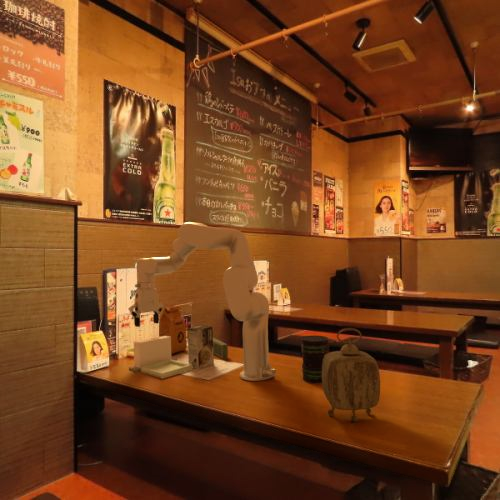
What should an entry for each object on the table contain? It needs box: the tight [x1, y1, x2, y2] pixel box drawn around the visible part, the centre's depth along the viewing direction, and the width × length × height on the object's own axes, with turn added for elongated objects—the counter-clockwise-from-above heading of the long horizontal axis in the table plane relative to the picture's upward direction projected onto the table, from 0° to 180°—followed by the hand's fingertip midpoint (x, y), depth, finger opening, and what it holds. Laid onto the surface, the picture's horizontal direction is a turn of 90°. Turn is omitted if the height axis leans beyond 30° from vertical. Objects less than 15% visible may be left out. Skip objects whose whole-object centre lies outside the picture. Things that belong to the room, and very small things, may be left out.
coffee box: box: [187, 324, 215, 370], centre depth 173 cm, size 9×6×16 cm
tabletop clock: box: [321, 327, 381, 423], centre depth 113 cm, size 14×9×25 cm, turn 92°
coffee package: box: [158, 305, 188, 355], centre depth 198 cm, size 10×12×22 cm
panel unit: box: [128, 336, 178, 373], centre depth 175 cm, size 6×20×11 cm, turn 138°
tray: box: [140, 360, 193, 380], centre depth 166 cm, size 14×15×2 cm
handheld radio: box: [213, 337, 229, 360], centre depth 194 cm, size 7×3×25 cm
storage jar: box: [301, 335, 330, 384], centre depth 149 cm, size 10×10×15 cm
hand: (147, 324), depth 181 cm, fingers open, 9 cm apart
